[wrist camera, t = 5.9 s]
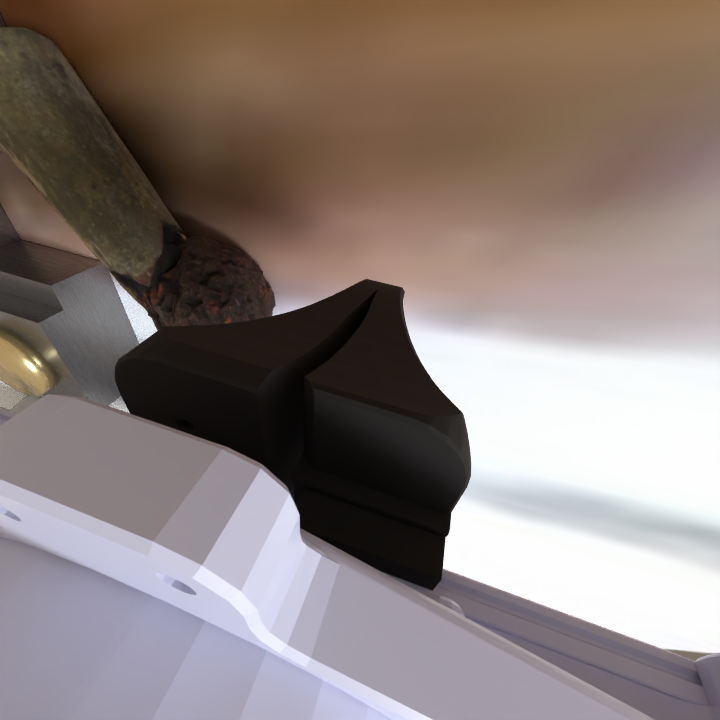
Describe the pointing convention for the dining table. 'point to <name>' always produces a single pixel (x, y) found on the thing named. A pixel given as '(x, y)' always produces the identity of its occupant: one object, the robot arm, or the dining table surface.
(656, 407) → the dining table surface
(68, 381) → the gray angular bracket
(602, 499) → the dining table surface
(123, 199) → the brown elongated piece
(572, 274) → the dining table surface
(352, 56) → the dining table surface
